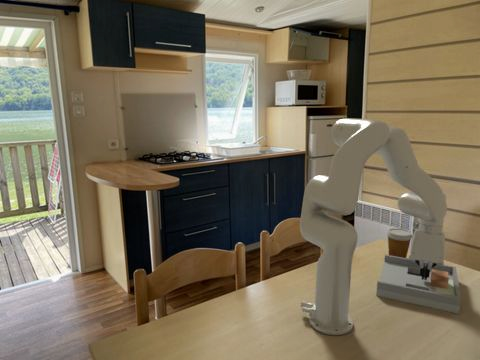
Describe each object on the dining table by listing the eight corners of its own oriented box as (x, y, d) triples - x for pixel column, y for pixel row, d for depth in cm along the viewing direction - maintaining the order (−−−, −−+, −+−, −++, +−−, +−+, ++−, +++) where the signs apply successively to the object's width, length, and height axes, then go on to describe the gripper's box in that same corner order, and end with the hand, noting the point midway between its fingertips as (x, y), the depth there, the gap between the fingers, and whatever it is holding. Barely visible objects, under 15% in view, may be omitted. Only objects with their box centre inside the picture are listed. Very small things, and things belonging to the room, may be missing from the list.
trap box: (376, 295, 123) (377, 281, 122) (384, 266, 145) (385, 254, 144) (459, 313, 113) (461, 298, 112) (454, 279, 135) (455, 266, 134)
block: (430, 285, 125) (431, 274, 124) (430, 279, 129) (431, 269, 128) (447, 289, 123) (448, 278, 122) (446, 282, 127) (448, 271, 126)
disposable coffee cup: (413, 264, 147) (416, 236, 145) (389, 264, 147) (392, 235, 145) (403, 254, 156) (406, 227, 154) (381, 254, 156) (383, 227, 154)
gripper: (404, 227, 124) (400, 278, 128) (456, 234, 117) (449, 287, 121) (405, 221, 130) (401, 269, 134) (454, 227, 124) (448, 278, 128)
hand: (424, 278), depth 128 cm, fingers closed
